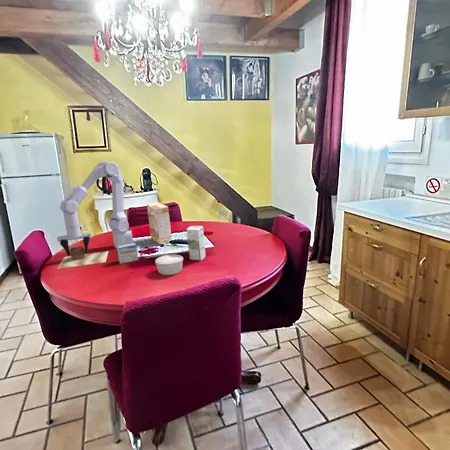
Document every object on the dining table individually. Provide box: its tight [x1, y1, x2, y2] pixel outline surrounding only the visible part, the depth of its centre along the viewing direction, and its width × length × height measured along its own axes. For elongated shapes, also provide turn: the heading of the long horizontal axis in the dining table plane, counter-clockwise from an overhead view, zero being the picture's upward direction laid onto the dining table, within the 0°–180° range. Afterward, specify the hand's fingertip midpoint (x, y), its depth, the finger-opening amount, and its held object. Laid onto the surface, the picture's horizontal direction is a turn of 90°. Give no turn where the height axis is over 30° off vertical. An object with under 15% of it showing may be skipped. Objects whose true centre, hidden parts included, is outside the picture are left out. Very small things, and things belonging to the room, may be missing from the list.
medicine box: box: [116, 242, 139, 265], centre depth 148 cm, size 8×4×9 cm, turn 117°
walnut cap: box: [69, 245, 85, 260], centre depth 156 cm, size 6×6×5 cm
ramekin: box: [154, 254, 184, 276], centre depth 137 cm, size 11×11×5 cm
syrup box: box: [186, 225, 206, 261], centre depth 148 cm, size 6×6×14 cm
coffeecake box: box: [146, 202, 173, 245], centre depth 178 cm, size 15×7×20 cm, turn 29°
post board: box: [56, 250, 109, 270], centre depth 154 cm, size 20×16×5 cm
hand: (77, 254), depth 156 cm, fingers open, 7 cm apart
